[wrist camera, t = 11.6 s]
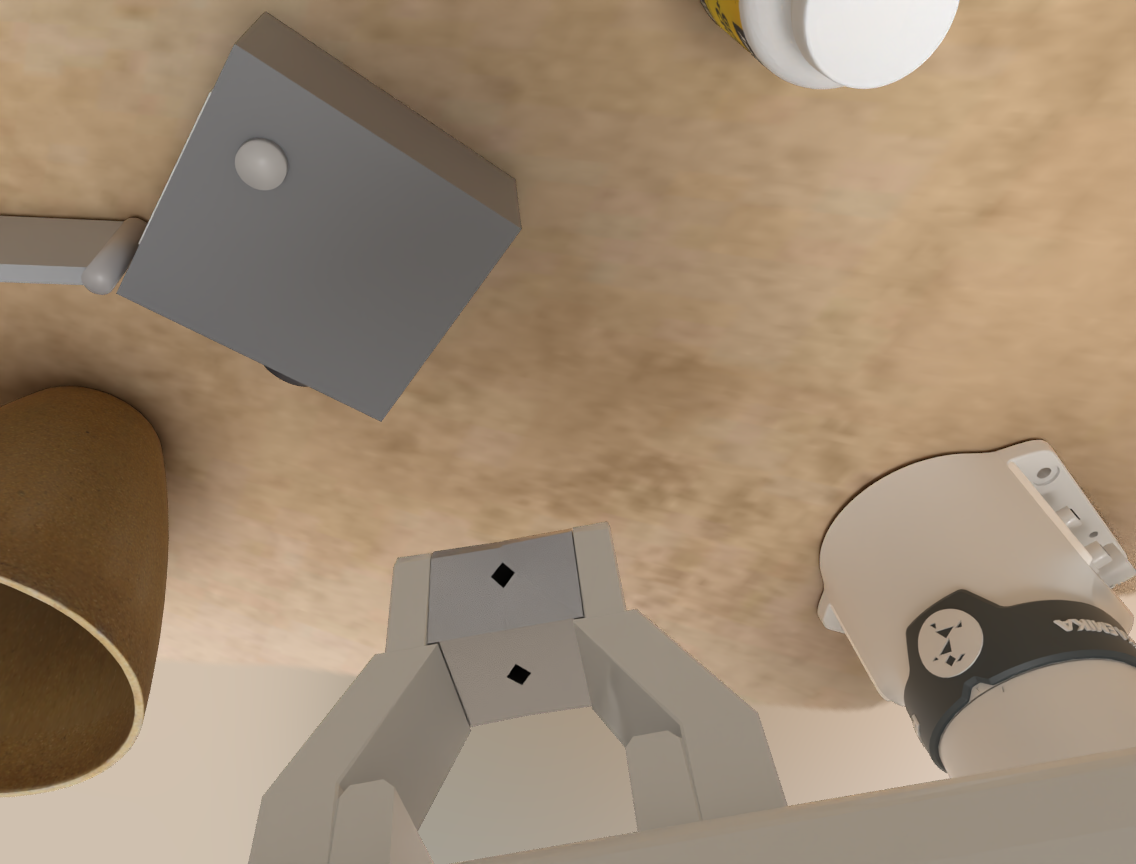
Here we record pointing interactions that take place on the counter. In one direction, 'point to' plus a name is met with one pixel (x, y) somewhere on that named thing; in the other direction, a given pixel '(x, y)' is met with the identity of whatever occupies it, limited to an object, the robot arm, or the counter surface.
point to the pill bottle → (836, 37)
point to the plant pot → (77, 584)
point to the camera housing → (320, 224)
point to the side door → (68, 251)
